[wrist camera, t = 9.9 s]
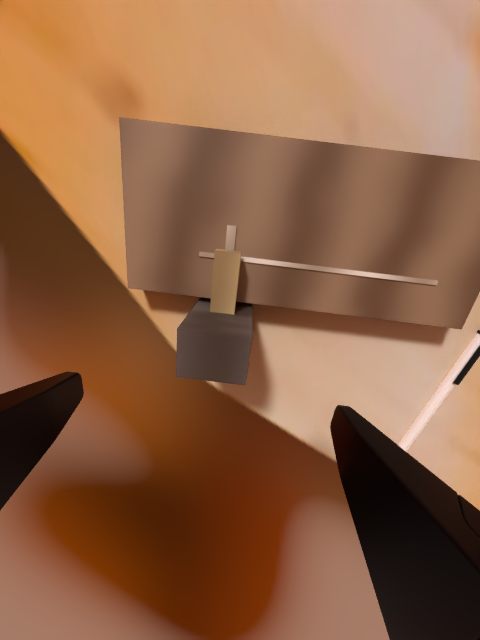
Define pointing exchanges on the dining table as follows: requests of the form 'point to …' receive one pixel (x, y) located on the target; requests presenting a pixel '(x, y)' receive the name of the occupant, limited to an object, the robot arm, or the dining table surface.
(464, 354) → the pen
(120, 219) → the dining table surface
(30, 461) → the robot arm
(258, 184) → the gray rectangular board
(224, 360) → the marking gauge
